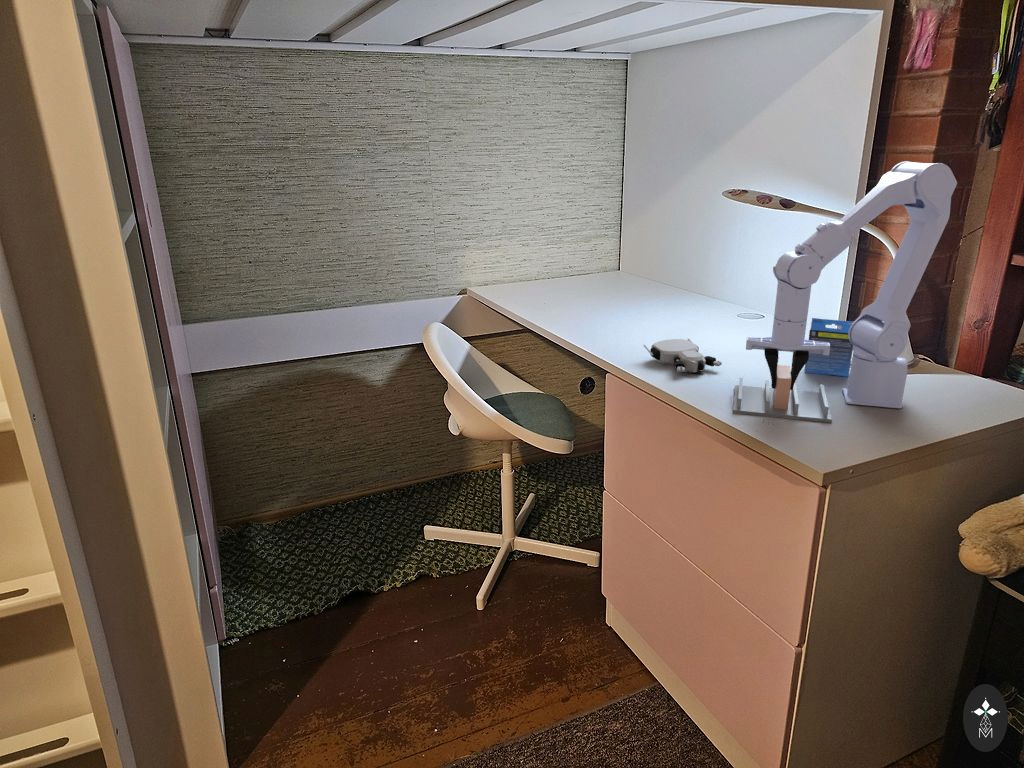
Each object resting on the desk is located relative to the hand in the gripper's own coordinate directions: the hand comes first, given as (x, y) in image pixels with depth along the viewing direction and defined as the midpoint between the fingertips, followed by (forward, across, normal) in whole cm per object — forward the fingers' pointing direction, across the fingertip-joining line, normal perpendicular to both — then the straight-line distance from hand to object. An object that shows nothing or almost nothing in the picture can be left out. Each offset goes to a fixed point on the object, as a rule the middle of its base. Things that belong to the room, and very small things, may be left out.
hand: (781, 387), depth 132 cm
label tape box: (+4, -10, -22) cm, 24 cm away
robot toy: (+4, +20, -19) cm, 28 cm away
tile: (+3, 0, 0) cm, 3 cm away
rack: (+3, 0, 0) cm, 3 cm away
